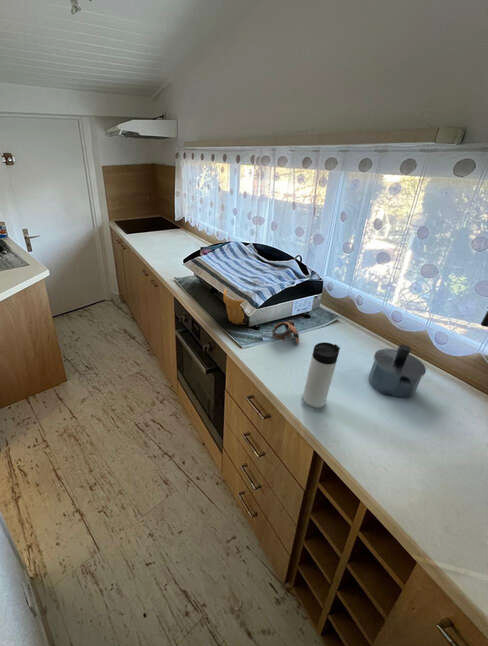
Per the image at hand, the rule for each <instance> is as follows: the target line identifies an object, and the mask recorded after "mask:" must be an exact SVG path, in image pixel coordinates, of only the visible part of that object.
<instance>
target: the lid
mask: <svg viewBox="0 0 488 646" xmlns="http://www.w3.org/2000/svg"><path fill="white" fill-rule="evenodd" d="M393 349H394V348H388V349H386V348H383V349H378V350H376V351H375V352H374V354H373V360H375V362H376V364H377V365H378V366H379V367H381V368H382V369H383V370H385V371H387V372H389V373H391V374H393V375H396V376H399V377H403V378H410V379H415V378H420V377H421V378H422V377H424V376H425V375H426V372H427V368H426V365H424V364H423V362H422V361H421V360H420V359H418V358H417V357H415V356H414V355H412V354H410V353H411V350H412V348H411V347H410V346H409V345H406V344H399V345H398V348H397V349H394V350H393Z"/></svg>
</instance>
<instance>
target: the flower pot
mask: <svg viewBox="0 0 488 646" xmlns="http://www.w3.org/2000/svg"><path fill="white" fill-rule="evenodd" d="M226 290H227V288H225V289H224V290H223V303H224V304H225V307H226V314H227V318H228V321H229V322H230V323H232V324H234V325H246V323H242V322H243V319H244V313H243V311H242V308H241V306H240V304H241V303H242V302H244V300H234V299H231V298H229V297H227V296H226ZM231 321H232V322H231ZM239 323H241V324H239Z"/></svg>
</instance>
